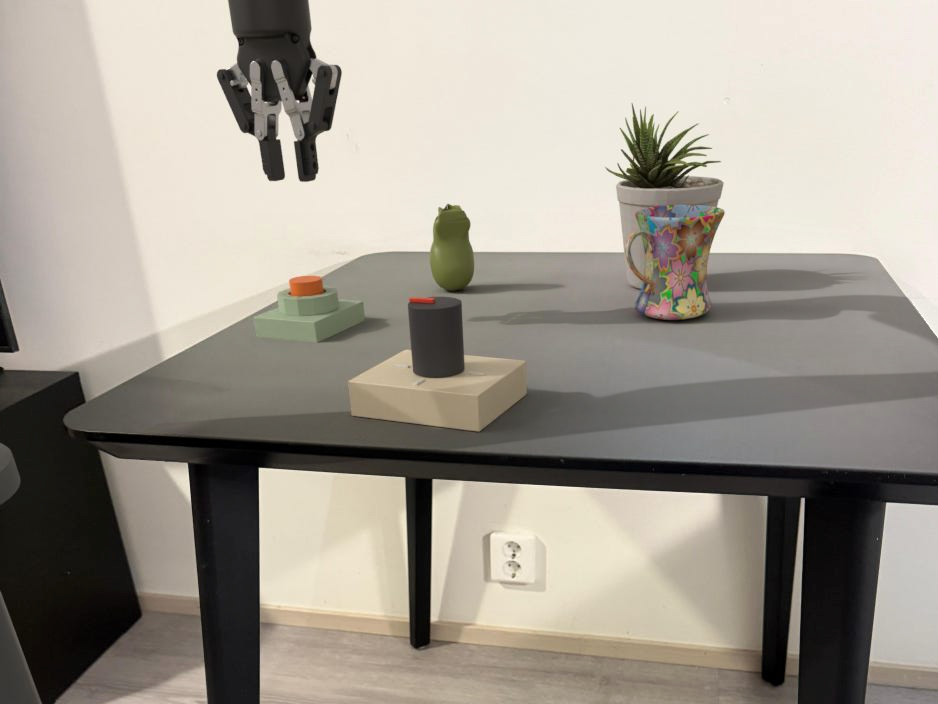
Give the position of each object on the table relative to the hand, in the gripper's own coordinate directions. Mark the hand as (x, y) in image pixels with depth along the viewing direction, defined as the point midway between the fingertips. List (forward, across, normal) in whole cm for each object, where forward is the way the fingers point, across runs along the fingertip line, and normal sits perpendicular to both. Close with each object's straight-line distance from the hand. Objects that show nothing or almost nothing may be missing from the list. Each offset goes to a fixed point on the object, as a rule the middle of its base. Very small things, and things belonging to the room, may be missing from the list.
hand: (292, 179), depth 96 cm
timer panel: (+15, +26, -19) cm, 36 cm away
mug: (+15, +36, +16) cm, 42 cm away
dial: (+12, +26, -19) cm, 34 cm away
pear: (+15, +7, +22) cm, 28 cm away
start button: (+12, 0, 0) cm, 12 cm away
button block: (+15, 0, 0) cm, 15 cm away
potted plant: (+15, +31, +32) cm, 47 cm away
